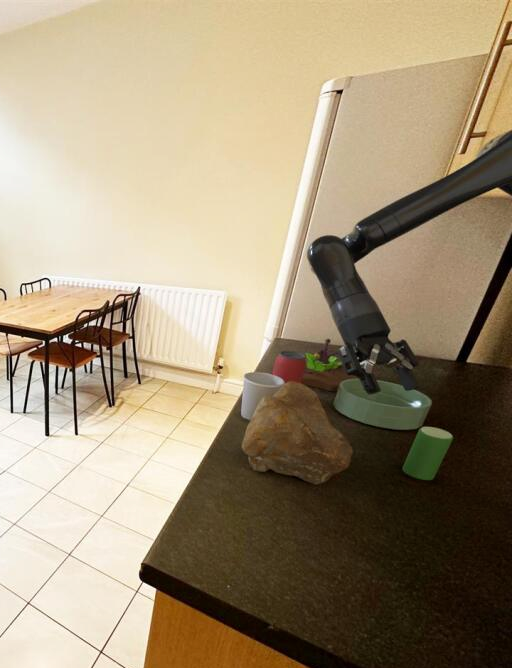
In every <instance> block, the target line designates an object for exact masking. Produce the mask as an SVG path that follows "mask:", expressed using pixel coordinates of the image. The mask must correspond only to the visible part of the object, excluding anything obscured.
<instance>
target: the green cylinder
mask: <svg viewBox="0 0 512 668" xmlns="http://www.w3.org/2000/svg"><path fill="white" fill-rule="evenodd" d="M453 439H454V436H453V434H451V433H450V432H449V431H447V430H445V429H442V428H438V427H434V426H433V427H432V426H421V427H419V428H418V431H417V434H416V436H415V439H414V441H413V443H412V445H411V447H410V450H409V452H408V453H407V457H406V458H405V461H404V462H403V465H402V468H401V470H402V471H403V473H405V474H406V475H408V476H410V477H413V478H415V479H418V480H421V481H422V480H424V481H432V480H434V478H435V476H436V475H437V474H438V473H437V472H438V471H439V469H440V466H441V465H442V462H443V460H444V458H445V456H446V454H447V452H448V450H449V448H450V446H451V444H452V442H453Z"/></svg>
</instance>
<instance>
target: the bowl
mask: <svg viewBox="0 0 512 668" xmlns="http://www.w3.org/2000/svg"><path fill="white" fill-rule="evenodd" d="M376 381H377V383H378V385H379V387H380V389H381V391H380V392H378V393H375V394H368V393H367V392H366V391H365V390H364V388H363V385H362V383H361V381H360V379H348V380H345V381H342V382H341V383H340V385H339V388H338V391H337V392H336V395H335V397H334V399H333V400H334V401H333V407H334V409H335V410H337V411H338V413H340V414H342V415H344V416H345V417H348V418H349V419H352V420H354V421H357V422H359V423H363V424H366V425H370V426H373V427H378V428H382V429H390V430H401V431H409V430H417V429H420V428H422V427H423V425H424V422H425V420H426V417H427V415H428V413H429V411H430V409H431V407H432V403H433V401H432V399H431V398H430V397H429V396H428V395H426V394H424V393H423V392H421V391H419V390H416V389H414V390H411V391H406V390H405V389H404V387H403V385H402V384H398V383H394V382H391V381H390V382H389V381H385V380H378V379H376Z"/></svg>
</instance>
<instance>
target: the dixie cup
mask: <svg viewBox="0 0 512 668" xmlns="http://www.w3.org/2000/svg"><path fill="white" fill-rule="evenodd" d="M242 378H243V383H242V397H241V399H242V400H241V409H240V410H241V411H240V415H241V417H242V418H243V419H245V420H248V421H251V419H252V416H253V414H254V412H255V410H256V408H257V406H258V404H259V403H260V401H261V400H262V398H264V397H266V396H274V395H275V394H276V393H277V392H278V391H279V390H280V389H281V388H282V386H283V385H284V384H285V382H284V380H283V379H281V378H280V377H278V376H275V375H272V373H267V372H261V371H251V372H246V373H244V374H243V376H242Z"/></svg>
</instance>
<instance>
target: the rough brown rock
mask: <svg viewBox="0 0 512 668" xmlns="http://www.w3.org/2000/svg"><path fill="white" fill-rule="evenodd" d="M241 449H242V452H243V453H244V454H245V455H246V456H248V462H249V463H248V464H249V465H250V467H251V469H252V470H253V471H255V472H260V473H265V472H267V471H268V470H271V471H273V472H275V473H276V474H282V475H285V476H294V477H297V478H298V479H301V480H303V481H304V482H307V483H309V484H312V485H321V484H324V483H327V482H328V481H329V480H331V478H332V477H333V476H335V475H336V474H339V473H341V472H342V471H344V470H346V469H348V468H349V467H350V465H351V464H350V463H351V461H352V455H353V454H354V453H353V450H354V449H353V447H352V445H351V444H350V442H349V441H348V439H347V438H346V437H345V435H344V434H343V433H342V432H341V431H340V430H339V429H336V428H335V427H334V426H332V425H331V423H330V421H329V419H328V416H327V411H326V410H325V409H324V407H323V405H322V403H321V401H320V399H319V396H318V394H317V393H316V391H314V390H313V389H311V387H309V386H305V385H303V384H301V383H298V382H294V381H290V382H287V383H286V384H285V385H284V386H283V387H282V388H281V389H280V390H279V391H278V392H277V393H276V394H275V395H274V396H266V397H264V398H262V400H261V401H260V403H259V404H258V406H257V408H256V410H255V412H254V414H253V416H252V419H251V420H249V423H248V425H247V426H246V429H245V433H244V436H243V439H242V443H241Z"/></svg>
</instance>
